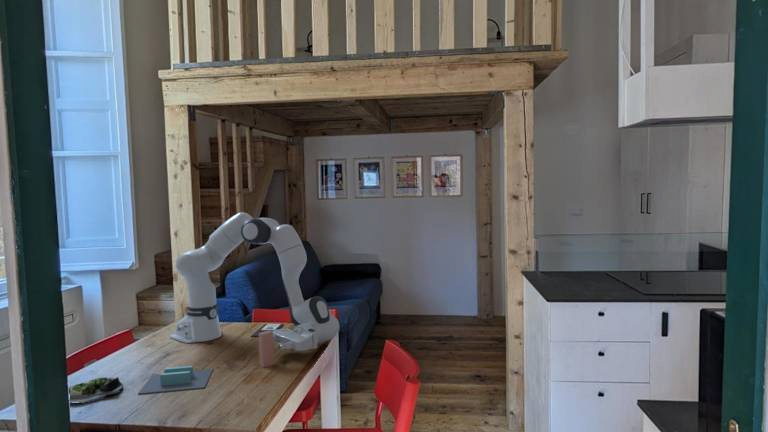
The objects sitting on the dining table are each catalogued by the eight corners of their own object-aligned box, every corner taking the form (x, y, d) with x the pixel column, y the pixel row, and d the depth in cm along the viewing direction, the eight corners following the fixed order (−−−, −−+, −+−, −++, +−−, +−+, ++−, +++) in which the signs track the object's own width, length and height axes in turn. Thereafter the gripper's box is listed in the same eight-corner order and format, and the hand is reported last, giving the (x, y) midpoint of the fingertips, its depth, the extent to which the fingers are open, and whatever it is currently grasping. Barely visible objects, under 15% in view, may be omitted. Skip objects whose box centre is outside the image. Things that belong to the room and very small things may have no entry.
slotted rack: (160, 385, 158) (160, 375, 158) (165, 378, 164) (165, 368, 164) (189, 382, 160) (189, 372, 159) (193, 375, 166) (193, 365, 166)
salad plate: (56, 415, 140) (55, 399, 140) (46, 397, 153) (45, 382, 153) (129, 394, 153) (128, 380, 153) (113, 379, 166) (113, 366, 166)
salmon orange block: (270, 362, 178) (269, 330, 177) (274, 364, 176) (272, 331, 176) (259, 365, 175) (258, 333, 174) (263, 367, 173) (262, 334, 172)
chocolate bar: (250, 335, 210) (264, 324, 228) (250, 337, 210) (265, 326, 228) (270, 335, 209) (283, 324, 227) (270, 338, 209) (283, 326, 227)
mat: (138, 394, 152) (138, 393, 152) (152, 375, 168) (152, 374, 168) (204, 388, 156) (204, 387, 156) (212, 370, 172) (212, 369, 172)
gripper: (287, 322, 194) (257, 330, 184) (319, 332, 180) (288, 341, 170) (288, 338, 195) (258, 346, 185) (319, 349, 180) (288, 359, 170)
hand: (272, 344), depth 177 cm, fingers open, 8 cm apart
